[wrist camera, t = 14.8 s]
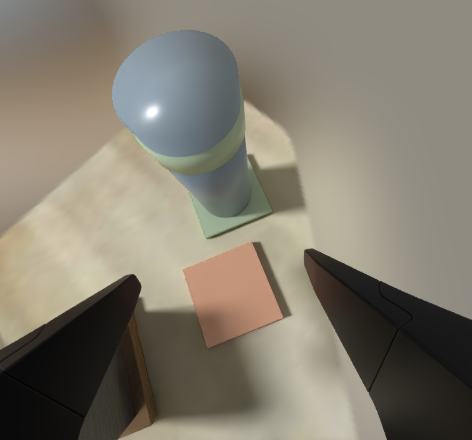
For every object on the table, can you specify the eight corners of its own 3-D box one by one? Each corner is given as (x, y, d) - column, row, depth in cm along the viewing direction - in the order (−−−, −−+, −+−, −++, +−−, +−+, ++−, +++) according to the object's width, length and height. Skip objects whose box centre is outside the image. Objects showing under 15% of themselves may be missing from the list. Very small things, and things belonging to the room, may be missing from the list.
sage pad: (271, 212, 19) (272, 210, 19) (206, 238, 19) (205, 238, 19) (245, 154, 21) (244, 151, 20) (185, 179, 21) (183, 177, 21)
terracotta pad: (282, 316, 17) (283, 317, 17) (209, 345, 17) (207, 348, 17) (251, 242, 19) (251, 241, 18) (185, 269, 19) (182, 269, 18)
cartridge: (253, 216, 19) (244, 132, 7) (201, 220, 19) (103, 148, 7) (250, 167, 20) (237, 17, 8) (200, 172, 20) (115, 39, 8)
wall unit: (157, 416, 16) (44, 588, 8) (102, 438, 16) (-71, 633, 8) (129, 298, 19) (20, 326, 10) (82, 317, 19) (-67, 362, 10)
